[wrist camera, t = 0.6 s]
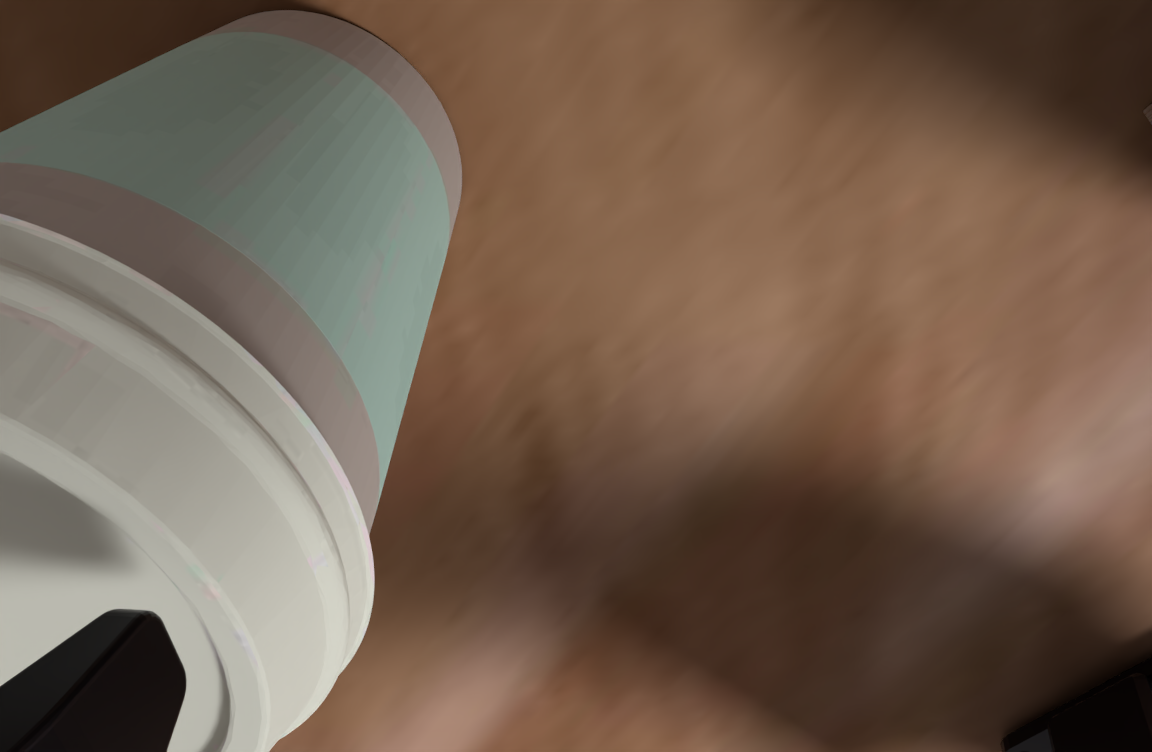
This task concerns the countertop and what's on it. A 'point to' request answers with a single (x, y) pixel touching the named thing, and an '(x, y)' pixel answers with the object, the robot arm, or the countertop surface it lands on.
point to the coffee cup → (216, 355)
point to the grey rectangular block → (1148, 112)
